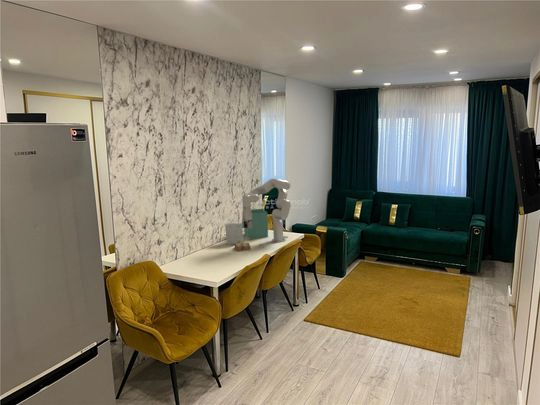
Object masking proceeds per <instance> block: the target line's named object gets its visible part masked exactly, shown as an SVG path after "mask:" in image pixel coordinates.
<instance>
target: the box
mask: <svg viewBox="0 0 540 405" xmlns="http://www.w3.org/2000/svg"><path fill="white" fill-rule="evenodd" d="M251 211H252V219H251V221H252V228H250V229H248V228H243V230H244V233H243V235H244V236H245V237H247V239H249V240H251V239H262V238H269V222H268V220H269V219H268V212H267V211H266V210H265V209H264V208H257V209H251Z"/></svg>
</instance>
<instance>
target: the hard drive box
mask: <svg viewBox="0 0 540 405" xmlns="http://www.w3.org/2000/svg"><path fill="white" fill-rule="evenodd" d="M243 230H244V229H243V228H242V222H227V223H226V224H225V239H226V245H235V244H239V243H244V236H243V235H244V233H243Z"/></svg>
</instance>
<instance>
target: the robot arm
mask: <svg viewBox="0 0 540 405" xmlns="http://www.w3.org/2000/svg"><path fill="white" fill-rule="evenodd" d="M273 188H276V189H277V190H278V196H277V200H276V205H275V206H276V207H277V208H275V209H273V210H272V212H271V217H272V224H273V226H272V228H273V229H272V230H273V232H272V233H273V238H272V240H271V241H272V242H275V243H281V242H285V240H286V239H288V238H289V237H288V235H284V223H283V221H285V220H287V219H288V217H289V213H290V210H291V207H292V206H291V204H292V203H291V201H290V200H288V191H287V190H289V189H291V183H290V182H289V181H287V180H284V179H280V178H270V179H268V180H267V181H266V182H264V183H263V184H262V185H259V186H257V187H255V188H253V189H252V190H250V191H248V193H247V194H242V196H241V197H242V198H241V201H242V212H241V213H242V215H241V223H242V222H243V224H244V228H247V224H246V223H247V221H251V219H252V211H251V210H252V209H251V206H252V205H251V203H257V202H258V201H259V200H260V197H259V195H260V196H261V195H265V194H267V193H269V192H270V191H272V190H273ZM245 221H246V222H245ZM244 228H243V229H244Z"/></svg>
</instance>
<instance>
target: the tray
mask: <svg viewBox="0 0 540 405" xmlns="http://www.w3.org/2000/svg"><path fill="white" fill-rule="evenodd" d="M248 243H249V242H248ZM248 243H246V242H243V243H239V244H234V249H235V250H236V251H237V252H244V250H245V251H250V250H251V246H249V245H250V244H249V245H248Z"/></svg>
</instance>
